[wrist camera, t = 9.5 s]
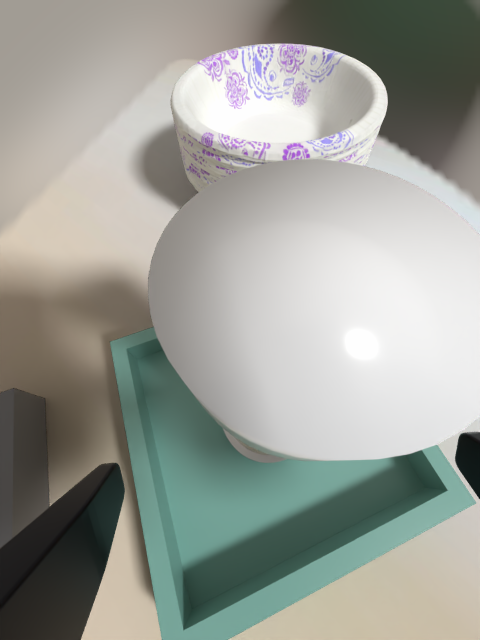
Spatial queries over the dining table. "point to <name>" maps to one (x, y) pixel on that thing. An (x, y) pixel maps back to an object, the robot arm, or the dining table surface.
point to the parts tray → (255, 506)
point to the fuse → (322, 311)
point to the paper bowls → (274, 109)
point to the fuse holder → (22, 461)
